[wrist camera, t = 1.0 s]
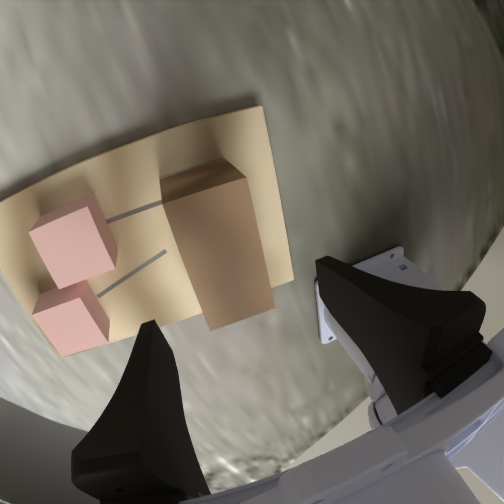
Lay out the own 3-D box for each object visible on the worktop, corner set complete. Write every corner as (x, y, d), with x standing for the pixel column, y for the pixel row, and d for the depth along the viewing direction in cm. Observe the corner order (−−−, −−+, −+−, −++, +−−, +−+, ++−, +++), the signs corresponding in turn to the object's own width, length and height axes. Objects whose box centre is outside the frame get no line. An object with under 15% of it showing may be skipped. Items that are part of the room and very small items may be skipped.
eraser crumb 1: (94, 193, 17) (87, 206, 15) (118, 249, 19) (115, 268, 17) (40, 216, 16) (28, 232, 14) (66, 269, 18) (59, 289, 16)
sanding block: (223, 157, 18) (246, 177, 14) (250, 266, 23) (275, 307, 19) (159, 177, 18) (162, 204, 14) (196, 285, 22) (210, 331, 18)
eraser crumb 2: (85, 276, 19) (79, 297, 17) (110, 320, 21) (108, 342, 19) (39, 294, 19) (31, 314, 16) (66, 334, 21) (62, 356, 19)
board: (256, 105, 19) (262, 106, 18) (288, 273, 25) (293, 279, 24) (-20, 212, 15) (-26, 217, 15) (61, 349, 22) (60, 358, 21)
